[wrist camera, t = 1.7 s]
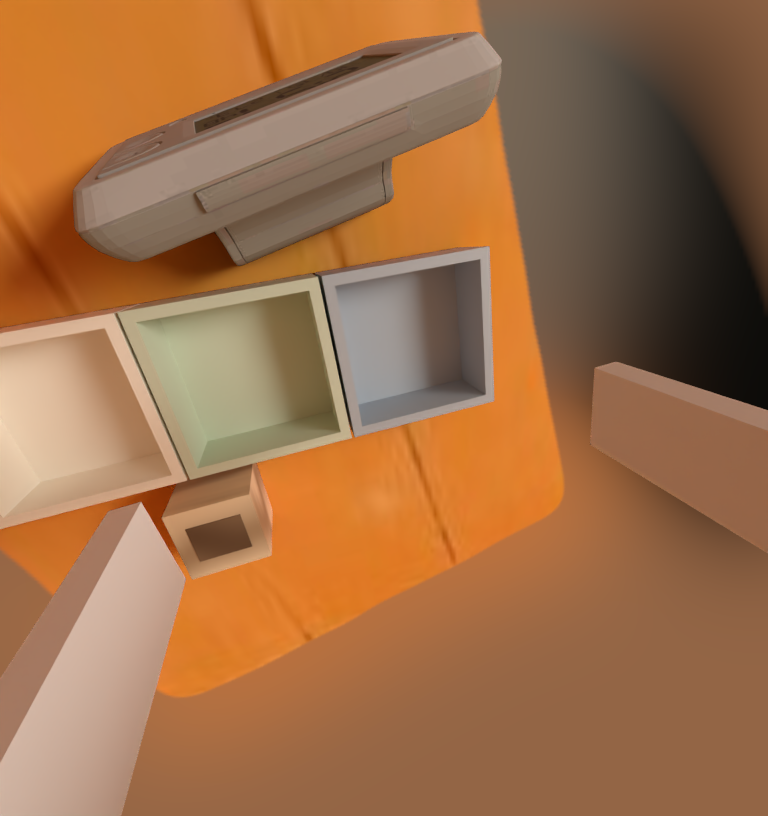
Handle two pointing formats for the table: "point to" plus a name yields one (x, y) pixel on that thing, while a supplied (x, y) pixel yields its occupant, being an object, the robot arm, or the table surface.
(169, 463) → the caddy cream
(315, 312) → the box
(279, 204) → the digital clock
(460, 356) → the box
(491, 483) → the table surface
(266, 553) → the letter cube
